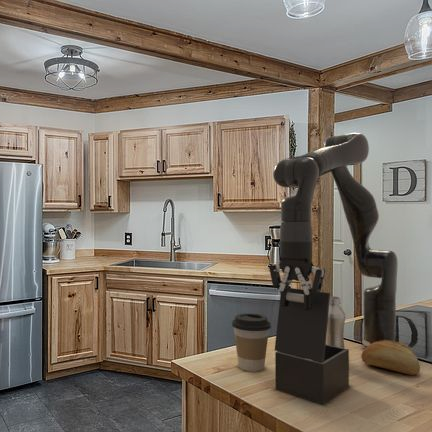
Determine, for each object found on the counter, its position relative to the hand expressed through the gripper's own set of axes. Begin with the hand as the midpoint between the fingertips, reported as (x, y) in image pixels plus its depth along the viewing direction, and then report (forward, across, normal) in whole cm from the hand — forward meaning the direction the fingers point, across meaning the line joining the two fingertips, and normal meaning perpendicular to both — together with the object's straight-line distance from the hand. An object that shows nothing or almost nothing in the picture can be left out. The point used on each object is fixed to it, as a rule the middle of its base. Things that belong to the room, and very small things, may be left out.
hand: (296, 307), depth 106 cm
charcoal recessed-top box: (+23, 0, -9) cm, 24 cm away
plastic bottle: (+23, +4, -31) cm, 39 cm away
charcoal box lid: (+4, 0, -3) cm, 5 cm away
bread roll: (+23, -10, -38) cm, 45 cm away
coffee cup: (+23, +19, -10) cm, 32 cm away
